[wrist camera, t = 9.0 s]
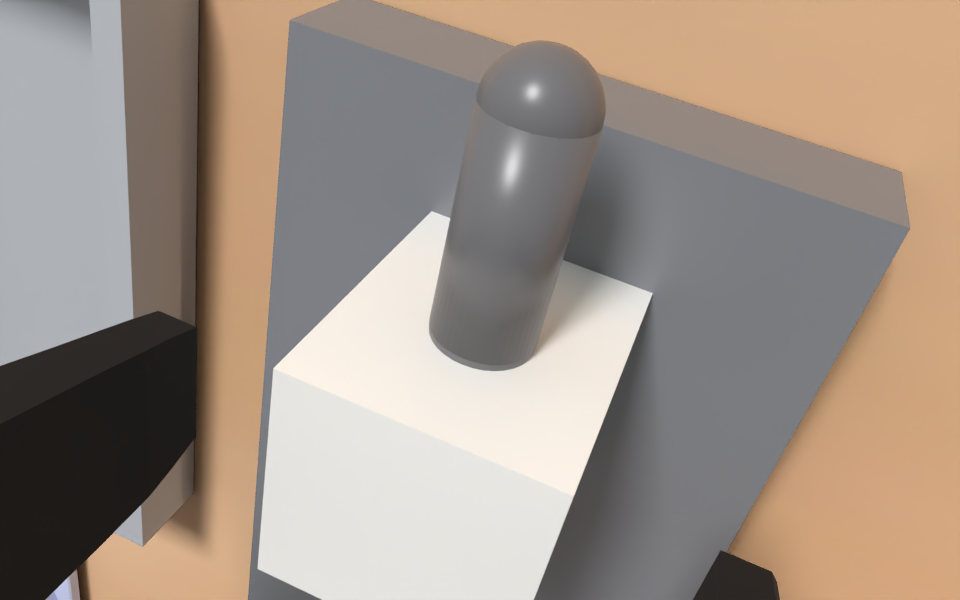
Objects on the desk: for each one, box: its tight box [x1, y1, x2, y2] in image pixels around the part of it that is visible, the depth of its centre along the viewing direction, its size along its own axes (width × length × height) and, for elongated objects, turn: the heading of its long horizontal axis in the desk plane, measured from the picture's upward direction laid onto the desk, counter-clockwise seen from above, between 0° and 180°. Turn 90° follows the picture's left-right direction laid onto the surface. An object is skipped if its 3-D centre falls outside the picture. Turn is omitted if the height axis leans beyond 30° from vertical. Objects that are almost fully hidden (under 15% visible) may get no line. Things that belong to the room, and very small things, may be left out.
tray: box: [0, 0, 199, 547], centre depth 18 cm, size 14×8×2 cm, turn 167°
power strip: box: [248, 0, 910, 600], centre depth 16 cm, size 14×9×2 cm, turn 167°
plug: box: [257, 41, 653, 600], centre depth 11 cm, size 7×4×6 cm, turn 167°
